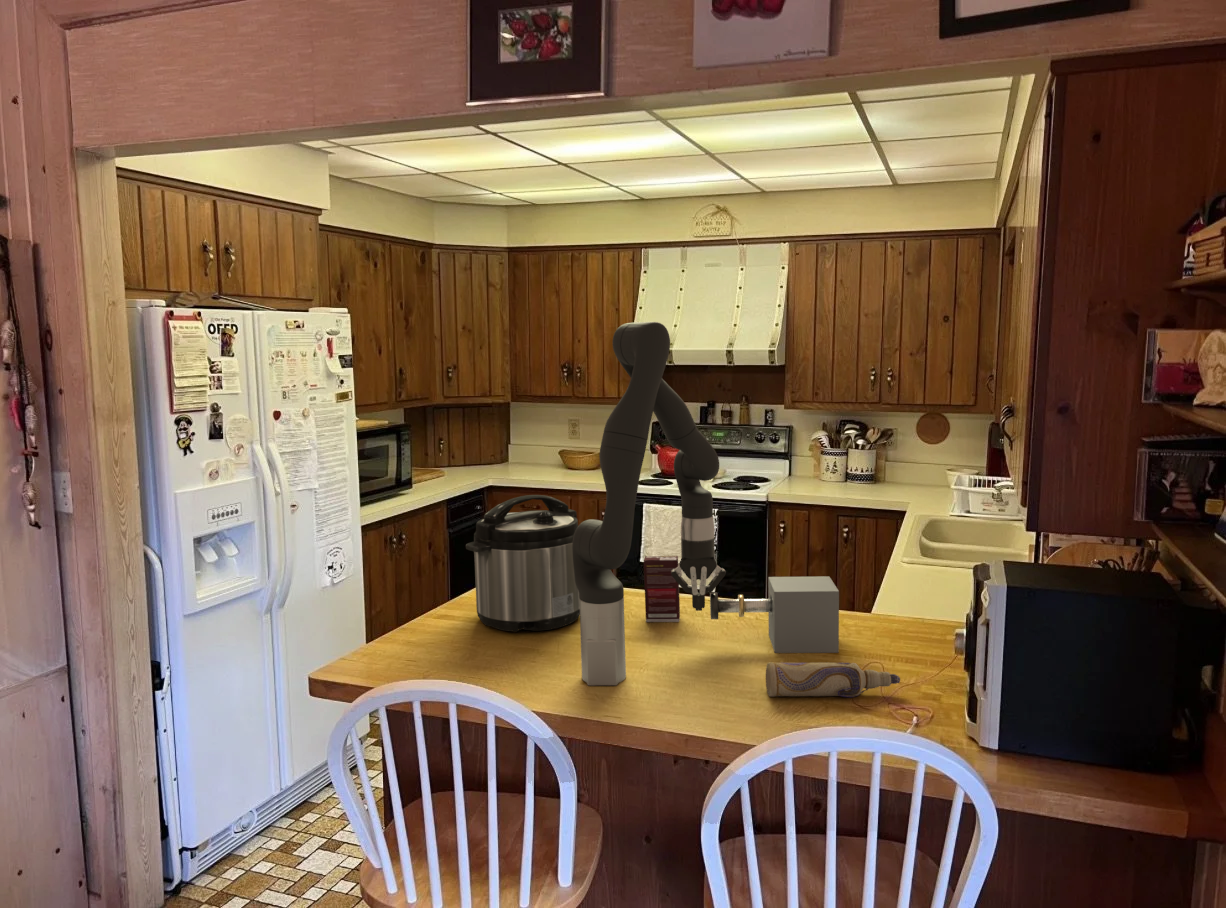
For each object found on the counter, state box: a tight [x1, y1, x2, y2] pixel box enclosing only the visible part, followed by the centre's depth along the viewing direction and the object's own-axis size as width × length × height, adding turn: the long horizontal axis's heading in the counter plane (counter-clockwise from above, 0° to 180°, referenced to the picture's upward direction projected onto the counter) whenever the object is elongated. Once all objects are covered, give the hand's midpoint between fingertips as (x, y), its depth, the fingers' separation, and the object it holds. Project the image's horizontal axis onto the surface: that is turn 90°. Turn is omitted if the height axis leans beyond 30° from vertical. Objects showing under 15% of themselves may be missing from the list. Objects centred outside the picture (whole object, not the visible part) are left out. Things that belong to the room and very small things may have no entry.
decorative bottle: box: [765, 661, 901, 698], centre depth 174 cm, size 26×8×7 cm, turn 87°
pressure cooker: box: [465, 494, 580, 632], centre depth 225 cm, size 30×28×32 cm
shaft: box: [709, 592, 772, 620], centre depth 203 cm, size 6×21×6 cm, turn 86°
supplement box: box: [643, 555, 681, 623], centre depth 222 cm, size 9×5×16 cm, turn 84°
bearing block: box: [767, 575, 840, 654], centre depth 202 cm, size 12×14×14 cm
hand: (698, 609), depth 204 cm, fingers closed
